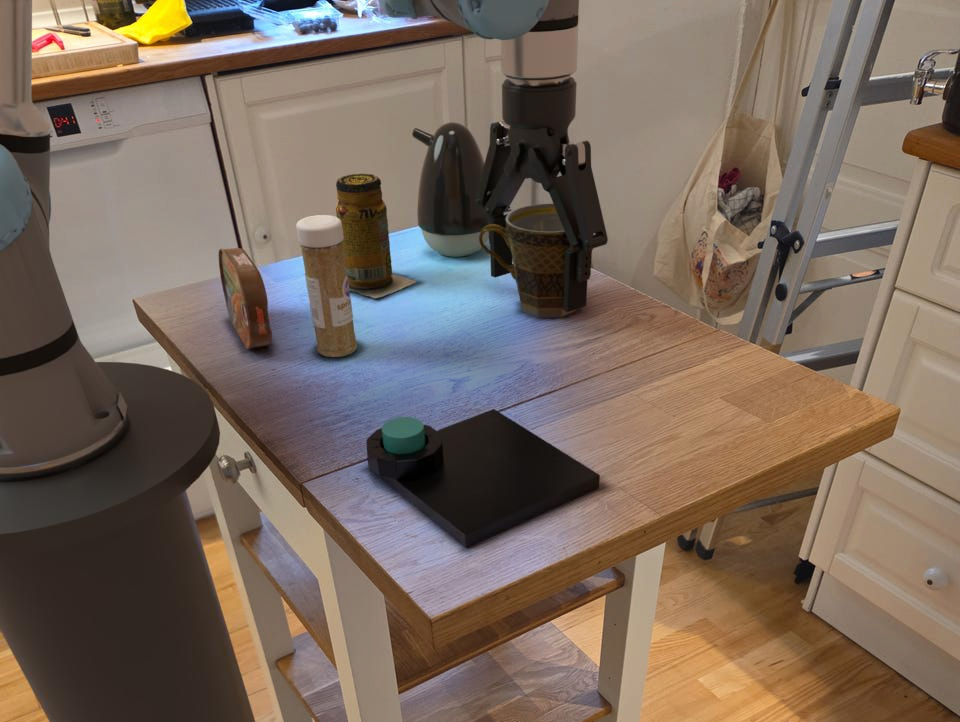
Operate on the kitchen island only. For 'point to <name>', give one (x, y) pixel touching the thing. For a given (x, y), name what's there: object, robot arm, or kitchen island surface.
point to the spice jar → (327, 284)
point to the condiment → (366, 236)
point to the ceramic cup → (535, 258)
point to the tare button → (403, 435)
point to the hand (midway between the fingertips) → (536, 290)
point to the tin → (245, 297)
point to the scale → (481, 475)
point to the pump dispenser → (451, 191)
